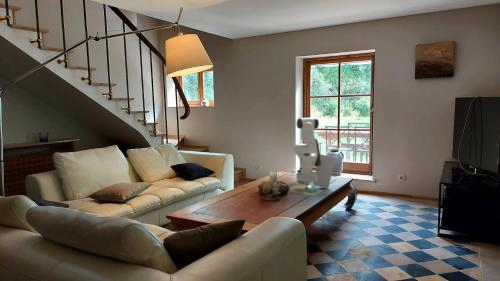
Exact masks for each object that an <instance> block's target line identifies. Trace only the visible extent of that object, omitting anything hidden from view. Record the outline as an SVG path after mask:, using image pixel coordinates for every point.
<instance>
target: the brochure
mask: <svg viewBox="0 0 500 281" xmlns="http://www.w3.org/2000/svg"><path fill="white" fill-rule="evenodd" d="M320 156H321V160H322V163H321V165H320V166H316V169H315V172H316V173H317V177H318V181H317V182H312V186H314V187H317V188H318V187H319V188H323V189H327V190H329V187H330V182H331V179H332V176H333V175H332V174H333V171H334V167H335V162H336V157H335V156H331V155H326V154H322V153H320Z"/></svg>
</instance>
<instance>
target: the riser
mask: <svg viewBox="0 0 500 281" xmlns="http://www.w3.org/2000/svg"><path fill="white" fill-rule="evenodd" d="M306 187H307V186H305V183H298V184H295V185H293V186H291V187H289V192H290V193H294V194H302V193H304V192H306V191H308V190H306ZM302 195H303V194H302Z"/></svg>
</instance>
